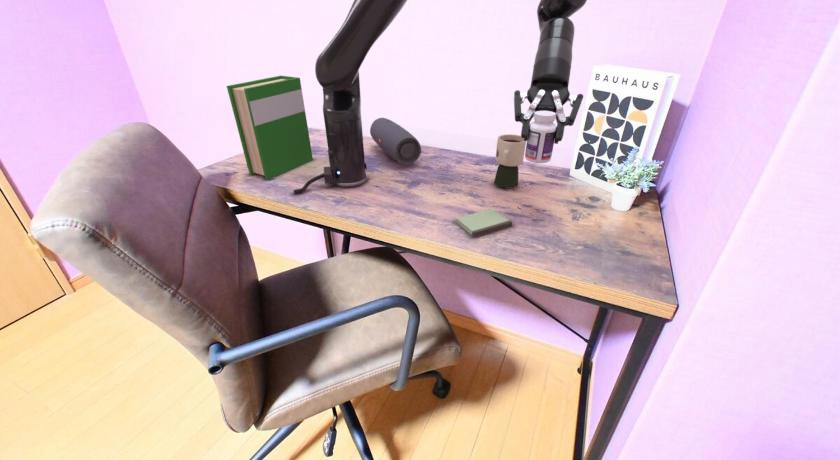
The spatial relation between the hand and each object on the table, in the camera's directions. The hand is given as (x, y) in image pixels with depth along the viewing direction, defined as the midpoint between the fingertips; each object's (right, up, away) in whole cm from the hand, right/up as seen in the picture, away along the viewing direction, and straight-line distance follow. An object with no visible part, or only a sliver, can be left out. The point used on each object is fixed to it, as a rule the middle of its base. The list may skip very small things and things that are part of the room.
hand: (541, 140), depth 75 cm
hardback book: (-66, +1, +36) cm, 75 cm away
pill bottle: (+1, -3, +4) cm, 5 cm away
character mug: (-1, -6, +25) cm, 26 cm away
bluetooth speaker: (-33, +5, +43) cm, 55 cm away
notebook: (-10, -17, +7) cm, 21 cm away
